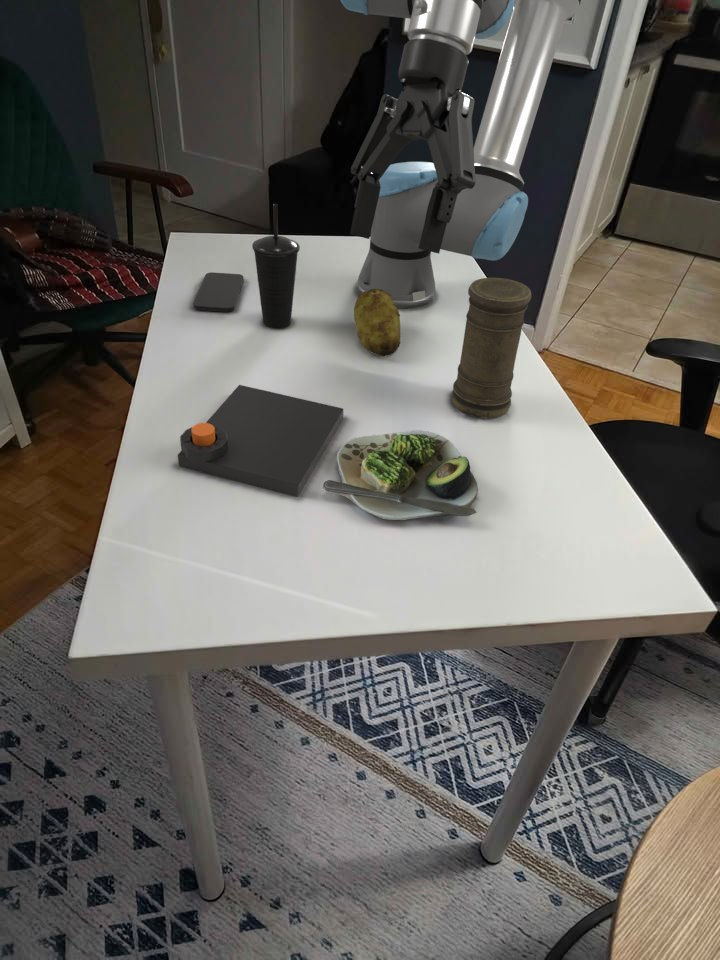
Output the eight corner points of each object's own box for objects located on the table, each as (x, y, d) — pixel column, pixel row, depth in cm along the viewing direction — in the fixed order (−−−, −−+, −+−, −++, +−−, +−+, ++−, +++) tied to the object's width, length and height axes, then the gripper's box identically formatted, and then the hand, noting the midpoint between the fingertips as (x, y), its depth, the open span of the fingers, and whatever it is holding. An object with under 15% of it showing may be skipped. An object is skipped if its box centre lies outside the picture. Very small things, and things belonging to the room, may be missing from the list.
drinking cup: (271, 336, 110) (269, 215, 97) (246, 319, 114) (241, 201, 101) (307, 325, 114) (309, 207, 101) (281, 309, 118) (280, 194, 105)
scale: (237, 395, 95) (236, 374, 93) (343, 419, 92) (344, 398, 90) (175, 467, 81) (171, 445, 79) (296, 499, 78) (296, 476, 76)
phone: (191, 305, 114) (206, 271, 126) (191, 310, 115) (206, 275, 126) (233, 308, 115) (244, 274, 126) (233, 312, 115) (244, 278, 127)
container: (509, 422, 94) (535, 305, 83) (448, 414, 95) (465, 297, 84) (510, 391, 101) (534, 279, 90) (452, 384, 102) (469, 272, 91)
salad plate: (336, 543, 73) (338, 513, 70) (307, 449, 86) (308, 420, 83) (494, 523, 78) (502, 494, 75) (443, 436, 91) (448, 408, 88)
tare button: (199, 431, 82) (198, 420, 81) (219, 436, 82) (218, 425, 81) (188, 444, 80) (187, 432, 79) (209, 449, 80) (208, 437, 79)
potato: (347, 359, 106) (350, 313, 100) (353, 323, 115) (357, 280, 110) (398, 364, 105) (403, 318, 100) (400, 328, 115) (405, 285, 110)
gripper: (347, 45, 79) (312, 225, 86) (498, 22, 62) (439, 251, 69) (393, 67, 84) (356, 237, 91) (544, 53, 67) (485, 264, 73)
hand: (392, 243), depth 80 cm, fingers open, 13 cm apart
